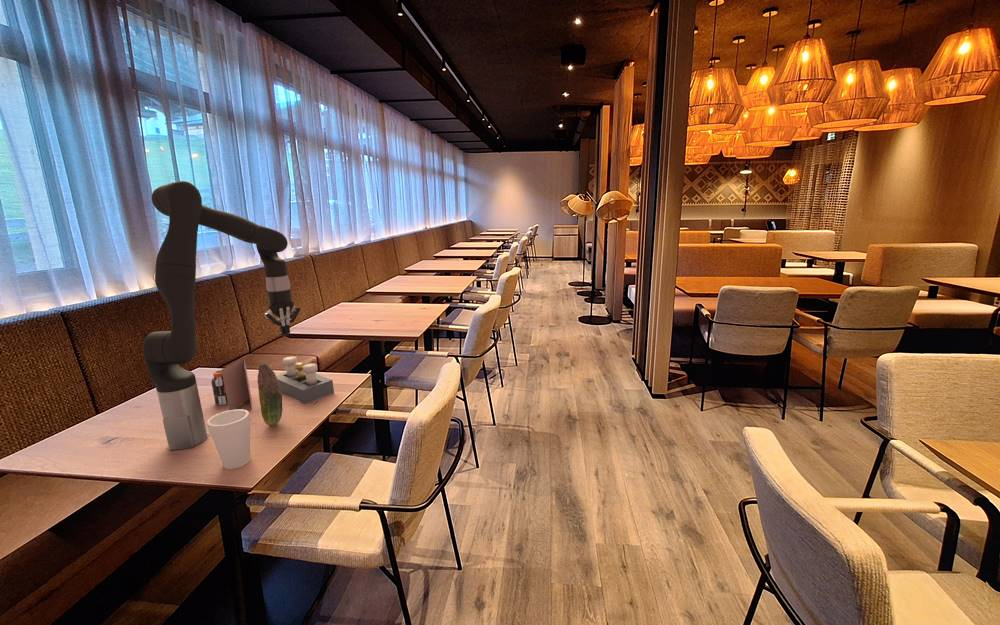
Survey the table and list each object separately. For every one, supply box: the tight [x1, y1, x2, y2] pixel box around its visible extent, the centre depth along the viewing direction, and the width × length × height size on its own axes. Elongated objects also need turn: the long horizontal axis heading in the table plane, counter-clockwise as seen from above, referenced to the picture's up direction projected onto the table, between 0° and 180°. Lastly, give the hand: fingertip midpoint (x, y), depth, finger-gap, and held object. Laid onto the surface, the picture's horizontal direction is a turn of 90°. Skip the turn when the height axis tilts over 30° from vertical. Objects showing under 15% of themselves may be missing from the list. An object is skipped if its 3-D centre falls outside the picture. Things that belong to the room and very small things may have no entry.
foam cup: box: [206, 408, 252, 470], centre depth 117 cm, size 10×9×13 cm
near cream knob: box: [303, 363, 318, 386], centre depth 157 cm, size 5×5×7 cm
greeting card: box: [221, 357, 253, 411], centre depth 152 cm, size 11×7×15 cm, turn 175°
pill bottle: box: [210, 369, 228, 406], centre depth 155 cm, size 6×6×11 cm
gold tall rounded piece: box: [294, 361, 306, 382], centre depth 162 cm, size 4×4×7 cm
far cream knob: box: [282, 356, 298, 378], centre depth 166 cm, size 5×5×7 cm
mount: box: [276, 371, 335, 405], centre depth 163 cm, size 22×11×5 cm, turn 52°
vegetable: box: [257, 363, 283, 427], centre depth 136 cm, size 6×6×20 cm
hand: (285, 335), depth 163 cm, fingers closed
